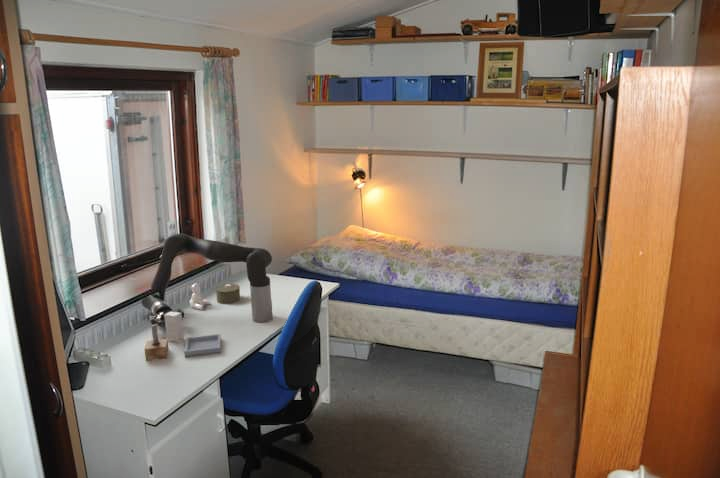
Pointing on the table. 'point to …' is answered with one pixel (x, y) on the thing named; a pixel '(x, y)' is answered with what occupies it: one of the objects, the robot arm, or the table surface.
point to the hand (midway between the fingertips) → (171, 321)
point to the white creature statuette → (197, 298)
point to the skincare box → (174, 326)
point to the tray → (203, 345)
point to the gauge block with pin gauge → (156, 347)
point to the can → (228, 293)
